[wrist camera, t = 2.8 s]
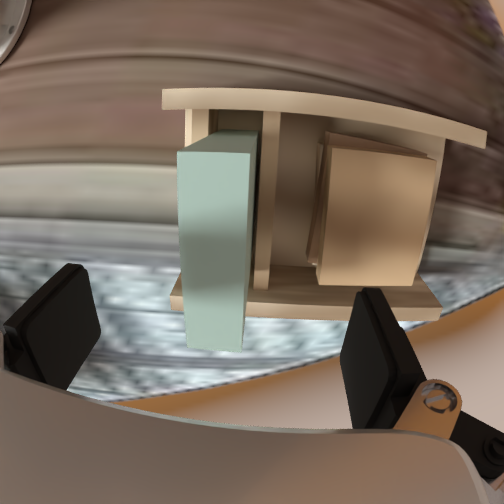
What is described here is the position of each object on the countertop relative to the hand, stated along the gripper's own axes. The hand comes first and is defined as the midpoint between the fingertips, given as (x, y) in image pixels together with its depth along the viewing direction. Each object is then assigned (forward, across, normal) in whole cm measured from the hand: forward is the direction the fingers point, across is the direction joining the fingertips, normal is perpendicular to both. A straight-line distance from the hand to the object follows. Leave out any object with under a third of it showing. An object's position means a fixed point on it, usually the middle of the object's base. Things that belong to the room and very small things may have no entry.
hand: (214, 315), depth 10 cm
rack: (+16, -5, -1) cm, 17 cm away
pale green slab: (+15, +1, 0) cm, 15 cm away
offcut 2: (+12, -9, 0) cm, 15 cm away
